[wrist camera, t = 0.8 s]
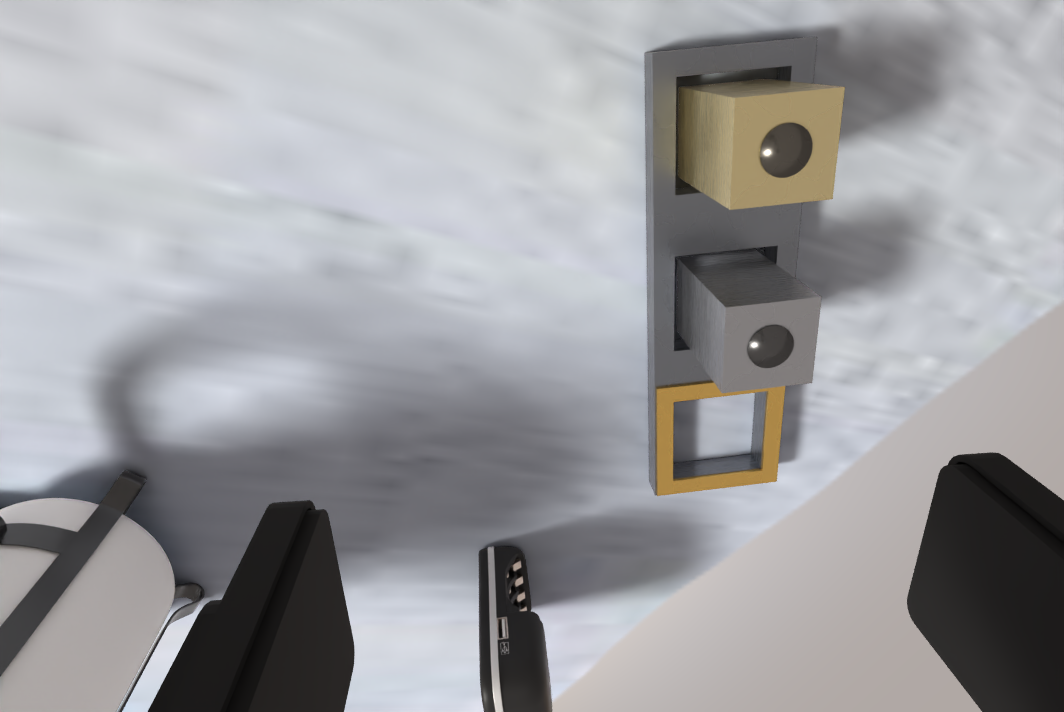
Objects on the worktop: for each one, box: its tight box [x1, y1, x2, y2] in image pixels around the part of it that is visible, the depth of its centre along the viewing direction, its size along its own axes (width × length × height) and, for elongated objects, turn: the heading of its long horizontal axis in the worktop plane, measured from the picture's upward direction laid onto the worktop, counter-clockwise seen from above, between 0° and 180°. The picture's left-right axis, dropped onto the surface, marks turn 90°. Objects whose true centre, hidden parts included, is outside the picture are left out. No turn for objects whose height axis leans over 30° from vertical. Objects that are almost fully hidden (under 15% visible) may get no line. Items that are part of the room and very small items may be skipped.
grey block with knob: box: [676, 249, 822, 393], centre depth 35 cm, size 4×4×8 cm
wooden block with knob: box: [678, 79, 845, 210], centre depth 31 cm, size 4×4×8 cm
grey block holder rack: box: [645, 37, 817, 496], centre depth 38 cm, size 26×8×2 cm, turn 5°
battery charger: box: [479, 547, 552, 712], centre depth 41 cm, size 7×4×11 cm, turn 5°
